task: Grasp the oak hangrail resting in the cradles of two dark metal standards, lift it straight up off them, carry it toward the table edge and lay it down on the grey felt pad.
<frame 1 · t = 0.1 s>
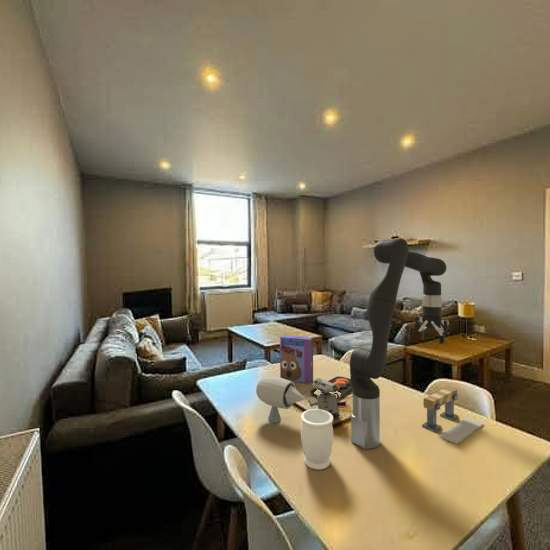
hand: (431, 341, 136), 29 cm above the table, fingers open, 8 cm apart
cereal box: (296, 380, 170), on the table
sushi plate: (349, 395, 152), on the table
felt pad: (462, 430, 117), on the table
jar: (317, 462, 100), on the table
figurine: (324, 416, 129), on the table
standard a: (431, 427, 120), on the table
rail: (440, 402, 123), point 8 cm above the table, touching standard a, standard b
jet engine: (278, 421, 125), on the table
standard b: (449, 416, 128), on the table
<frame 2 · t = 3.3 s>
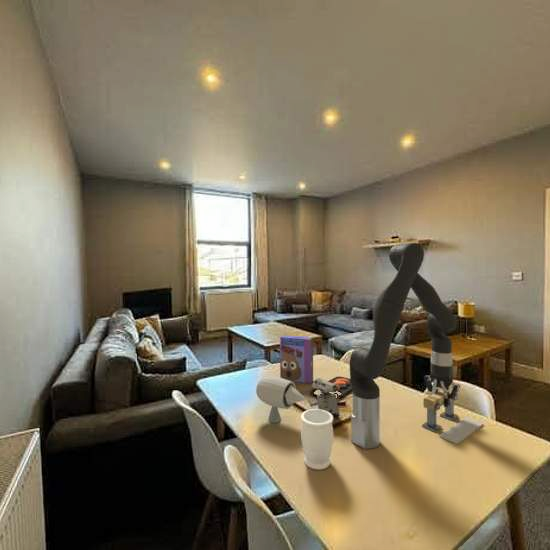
hand: (441, 404, 123), 7 cm above the table, fingers closed on rail, 3 cm apart
rail: (440, 402, 123), point 8 cm above the table, touching gripper, standard a, standard b
everything else where it was.
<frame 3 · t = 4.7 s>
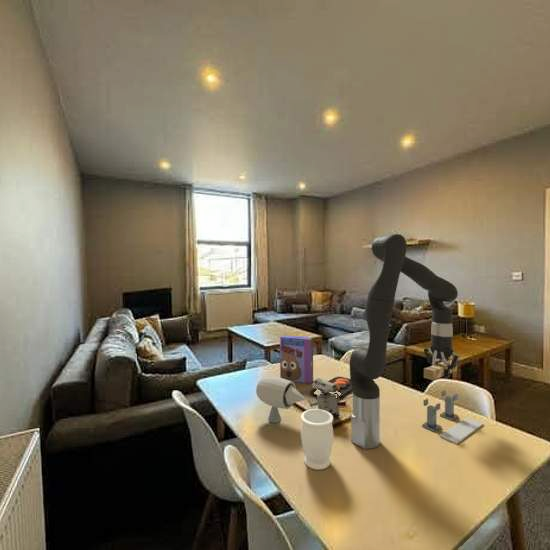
hand: (441, 376, 123), 19 cm above the table, fingers closed on rail, 3 cm apart
rail: (441, 373, 123), point 20 cm above the table, touching gripper
everything else where it was.
when the fingers open (1 cm above the table, at t = 9.4 s): rail drops 1 cm, resting on felt pad.
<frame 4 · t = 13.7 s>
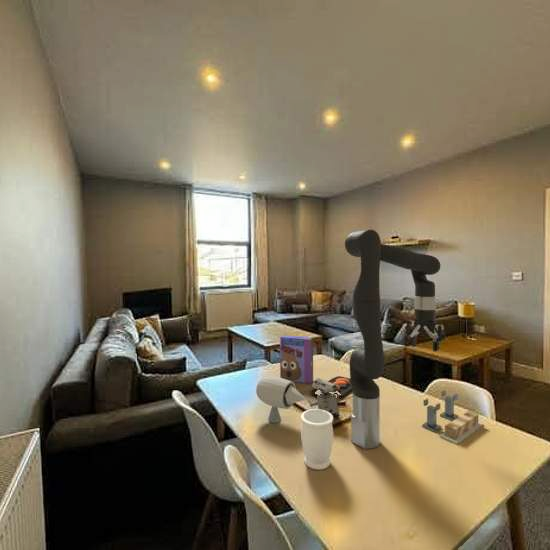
hand: (424, 348, 121), 30 cm above the table, fingers open, 8 cm apart
rail: (462, 429, 117), point 1 cm above the table, touching felt pad
everything else where it was.
at the end: rail inside the target area (0.0 cm from its centre), point 0.6 cm above the table; rail touching felt pad; the gripper is holding nothing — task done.
